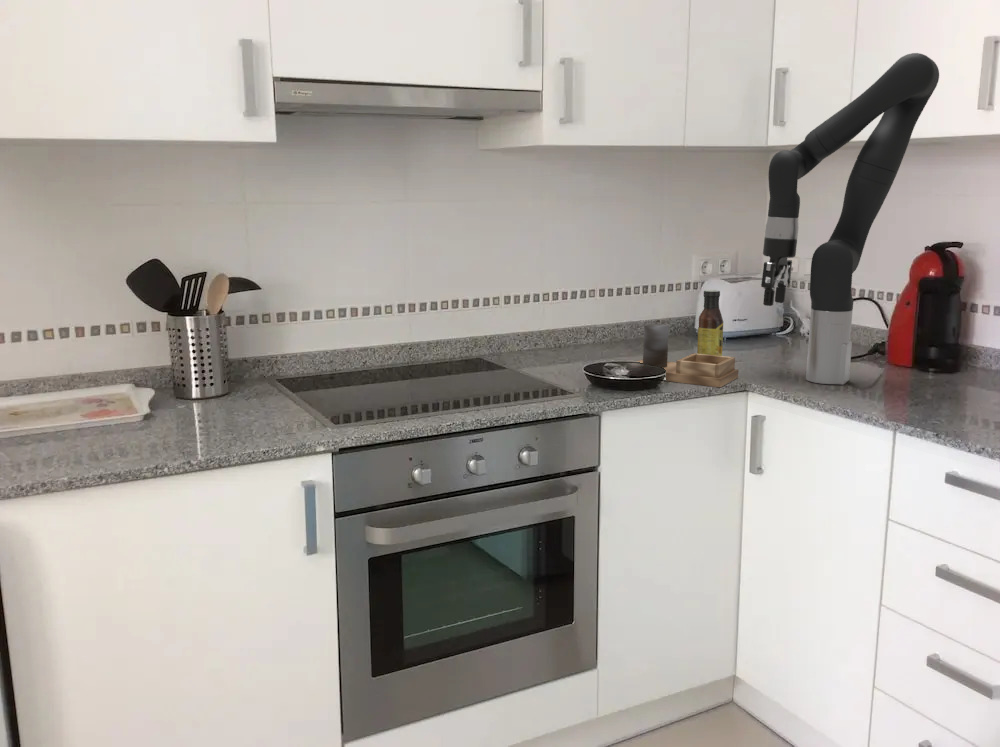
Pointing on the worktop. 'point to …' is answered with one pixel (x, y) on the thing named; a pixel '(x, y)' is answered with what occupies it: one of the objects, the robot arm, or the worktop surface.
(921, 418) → the worktop surface
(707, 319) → the sauce bottle
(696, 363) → the condiment caddy
